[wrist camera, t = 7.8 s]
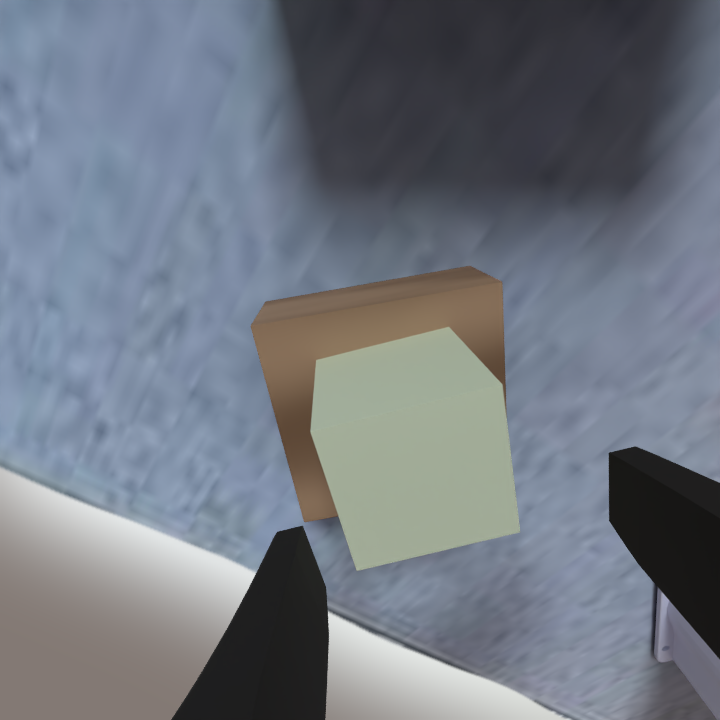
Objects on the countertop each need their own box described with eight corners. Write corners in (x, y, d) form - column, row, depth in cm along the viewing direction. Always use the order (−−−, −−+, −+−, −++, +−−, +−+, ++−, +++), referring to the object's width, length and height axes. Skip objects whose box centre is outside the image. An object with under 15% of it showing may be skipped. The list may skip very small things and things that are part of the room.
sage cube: (467, 440, 17) (520, 532, 12) (349, 468, 17) (356, 571, 12) (448, 326, 15) (502, 384, 10) (316, 360, 15) (310, 431, 10)
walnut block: (478, 436, 22) (508, 486, 18) (308, 466, 22) (304, 522, 18) (467, 264, 18) (502, 281, 15) (266, 299, 18) (250, 325, 15)
